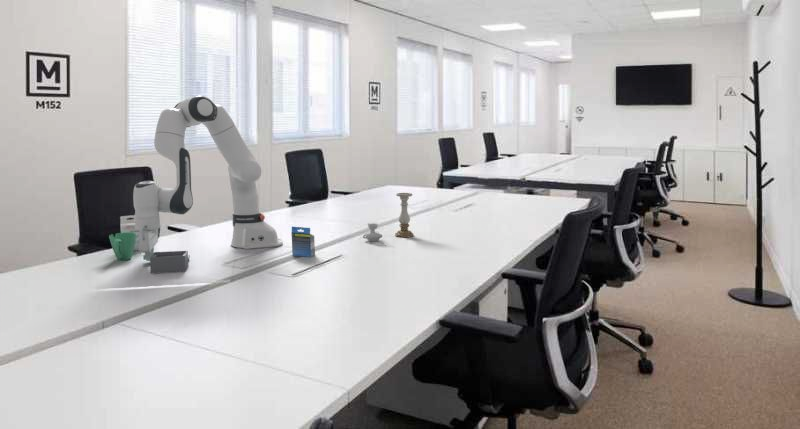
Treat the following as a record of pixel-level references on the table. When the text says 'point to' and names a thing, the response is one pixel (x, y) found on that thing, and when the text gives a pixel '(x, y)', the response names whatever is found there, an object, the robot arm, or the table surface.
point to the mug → (123, 245)
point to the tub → (169, 262)
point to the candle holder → (404, 216)
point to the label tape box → (302, 242)
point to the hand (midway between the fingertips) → (149, 259)
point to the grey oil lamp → (372, 233)
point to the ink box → (130, 228)
